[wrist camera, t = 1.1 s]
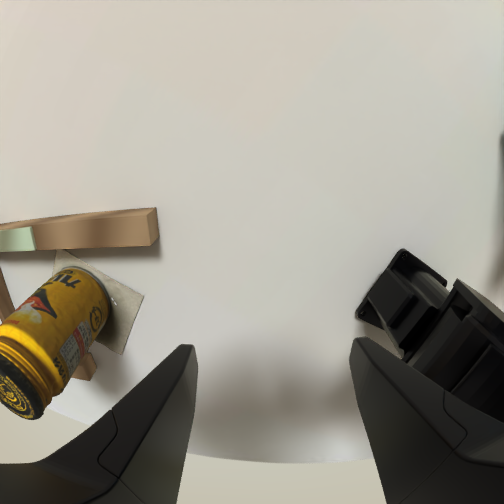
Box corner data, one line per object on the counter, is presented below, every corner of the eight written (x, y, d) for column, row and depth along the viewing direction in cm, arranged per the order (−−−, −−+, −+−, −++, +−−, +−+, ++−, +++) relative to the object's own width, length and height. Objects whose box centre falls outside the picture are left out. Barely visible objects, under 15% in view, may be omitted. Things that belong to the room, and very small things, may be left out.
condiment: (58, 245, 20) (-41, 325, 9) (144, 294, 21) (79, 415, 10) (48, 309, 22) (-22, 392, 11) (122, 352, 24) (74, 458, 13)
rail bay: (156, 207, 19) (144, 216, 17) (185, 376, 25) (181, 394, 22) (-15, 226, 19) (-30, 234, 17) (31, 355, 25) (22, 367, 22)
